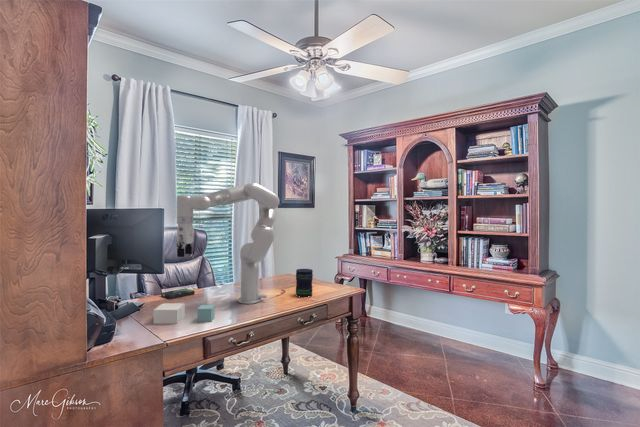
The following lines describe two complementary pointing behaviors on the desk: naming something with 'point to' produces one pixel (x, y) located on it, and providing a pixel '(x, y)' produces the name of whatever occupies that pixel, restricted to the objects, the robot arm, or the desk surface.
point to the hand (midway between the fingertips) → (184, 255)
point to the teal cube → (206, 313)
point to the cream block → (169, 313)
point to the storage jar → (304, 282)
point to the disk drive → (177, 293)
